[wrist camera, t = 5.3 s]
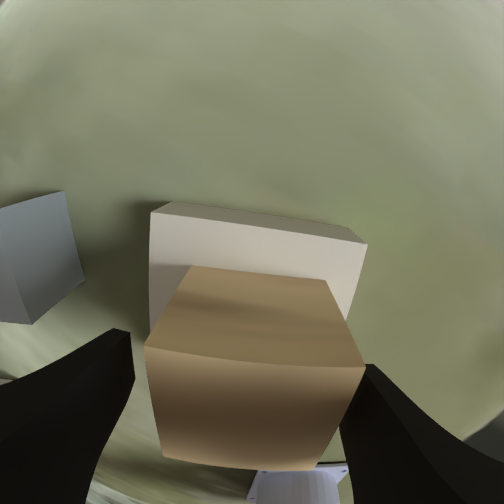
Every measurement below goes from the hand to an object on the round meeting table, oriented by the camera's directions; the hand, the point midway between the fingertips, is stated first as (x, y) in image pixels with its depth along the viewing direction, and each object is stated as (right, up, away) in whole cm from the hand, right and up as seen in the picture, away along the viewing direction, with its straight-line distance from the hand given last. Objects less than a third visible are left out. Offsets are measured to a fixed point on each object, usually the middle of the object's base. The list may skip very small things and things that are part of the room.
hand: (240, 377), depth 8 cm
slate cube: (-12, +5, +5) cm, 13 cm away
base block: (0, +2, +6) cm, 6 cm away
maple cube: (0, +1, +3) cm, 3 cm away
